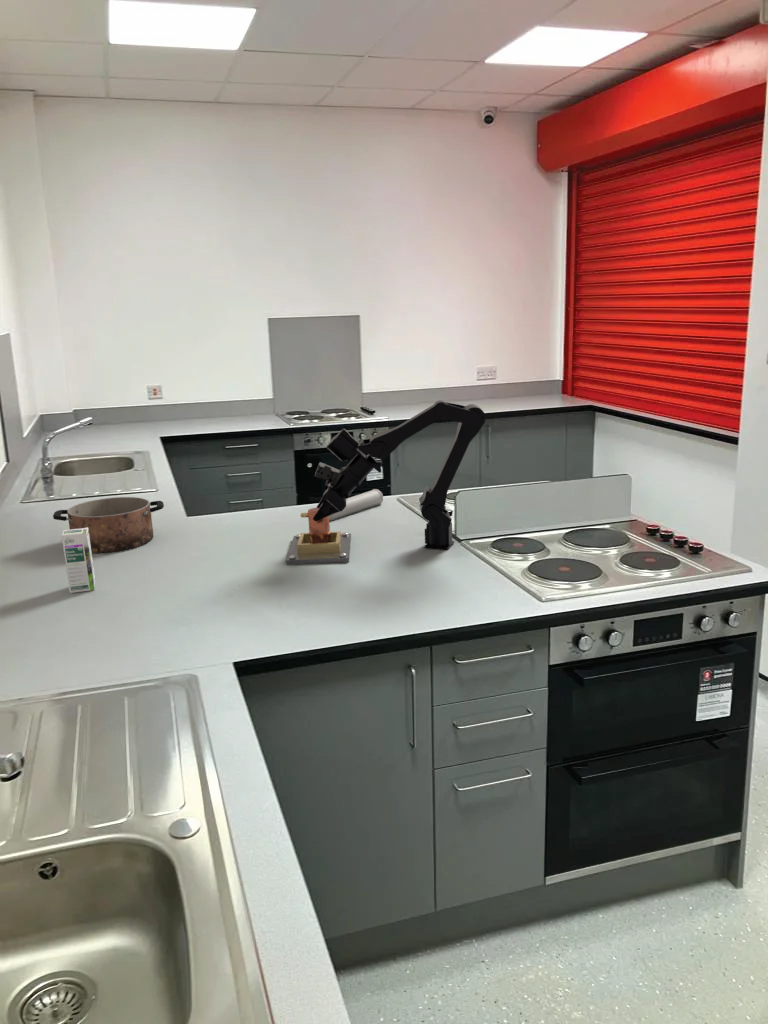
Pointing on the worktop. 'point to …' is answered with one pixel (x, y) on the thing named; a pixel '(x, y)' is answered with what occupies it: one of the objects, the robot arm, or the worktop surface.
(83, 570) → the syrup box
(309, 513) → the copper cylinder
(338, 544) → the gray mounting plate
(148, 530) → the cooking pot
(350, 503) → the tube
